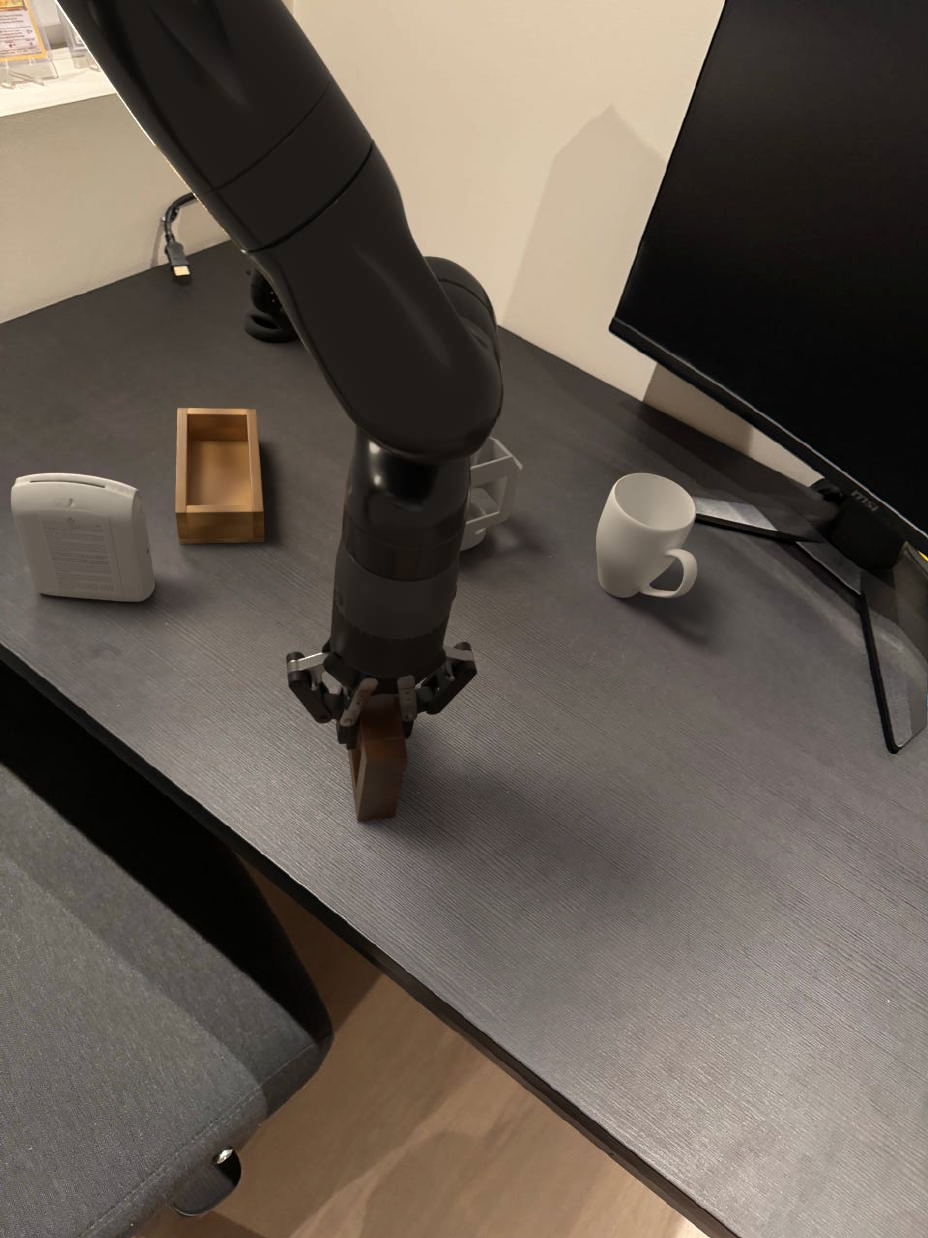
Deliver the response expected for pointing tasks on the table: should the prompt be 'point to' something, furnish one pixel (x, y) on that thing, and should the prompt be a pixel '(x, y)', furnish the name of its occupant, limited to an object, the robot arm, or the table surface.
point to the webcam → (266, 310)
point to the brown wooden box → (378, 759)
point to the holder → (218, 476)
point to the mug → (644, 535)
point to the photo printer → (83, 536)
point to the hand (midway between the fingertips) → (372, 737)
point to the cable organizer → (491, 489)
